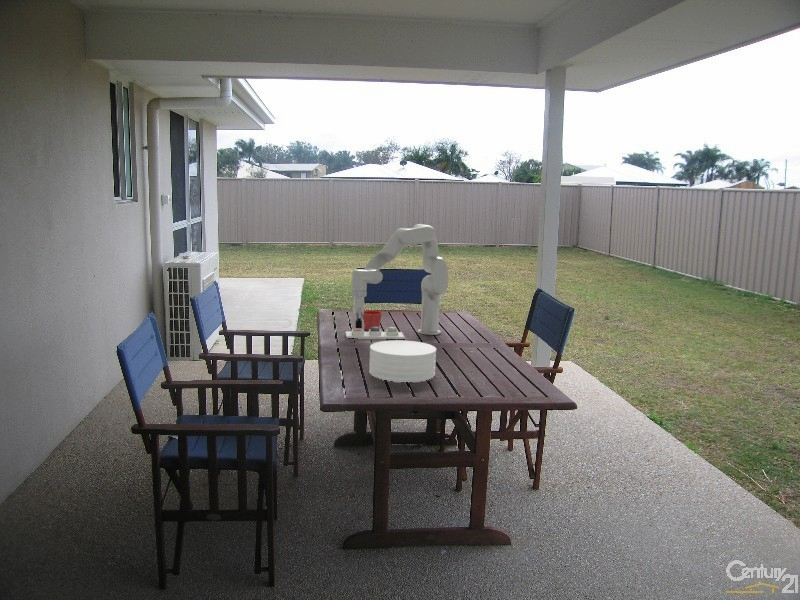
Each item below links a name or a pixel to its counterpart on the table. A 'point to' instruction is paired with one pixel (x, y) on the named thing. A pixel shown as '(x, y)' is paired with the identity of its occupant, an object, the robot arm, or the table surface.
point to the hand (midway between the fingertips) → (358, 327)
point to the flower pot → (371, 319)
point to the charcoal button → (374, 328)
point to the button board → (374, 334)
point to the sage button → (391, 329)
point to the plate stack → (402, 361)
